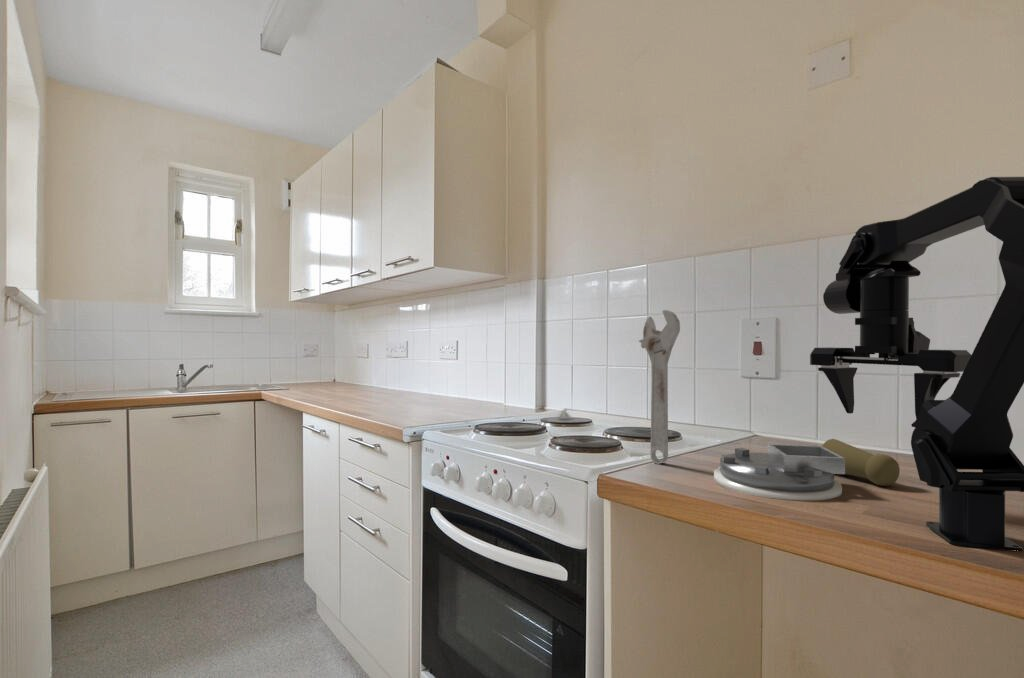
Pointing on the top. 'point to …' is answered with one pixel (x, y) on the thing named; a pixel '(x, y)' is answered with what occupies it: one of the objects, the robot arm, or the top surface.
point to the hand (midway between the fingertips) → (883, 417)
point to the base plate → (777, 494)
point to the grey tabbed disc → (784, 467)
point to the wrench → (660, 378)
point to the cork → (866, 463)
